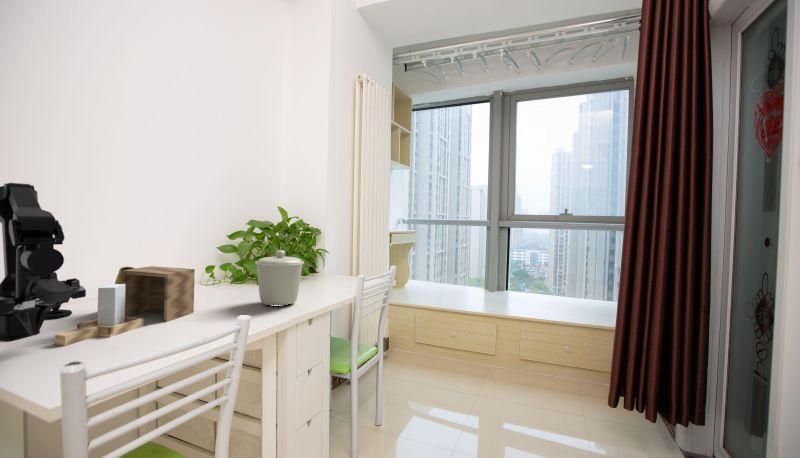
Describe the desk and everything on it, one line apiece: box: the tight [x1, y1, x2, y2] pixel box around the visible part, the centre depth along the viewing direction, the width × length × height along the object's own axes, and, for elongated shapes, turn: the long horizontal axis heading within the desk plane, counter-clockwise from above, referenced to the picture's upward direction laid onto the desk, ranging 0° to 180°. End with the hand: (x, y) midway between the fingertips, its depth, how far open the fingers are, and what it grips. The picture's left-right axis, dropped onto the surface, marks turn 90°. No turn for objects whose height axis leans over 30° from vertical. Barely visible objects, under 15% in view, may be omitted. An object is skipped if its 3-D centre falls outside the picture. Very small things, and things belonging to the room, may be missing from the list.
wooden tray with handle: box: [54, 316, 145, 347], centre depth 95 cm, size 18×11×3 cm, turn 170°
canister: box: [254, 249, 305, 306], centre depth 134 cm, size 18×18×21 cm
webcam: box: [44, 301, 73, 321], centre depth 108 cm, size 8×8×10 cm
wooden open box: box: [121, 265, 196, 323], centre depth 114 cm, size 11×17×15 cm, turn 80°
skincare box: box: [97, 283, 125, 327], centre depth 99 cm, size 6×4×12 cm
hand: (33, 334), depth 81 cm, fingers closed
